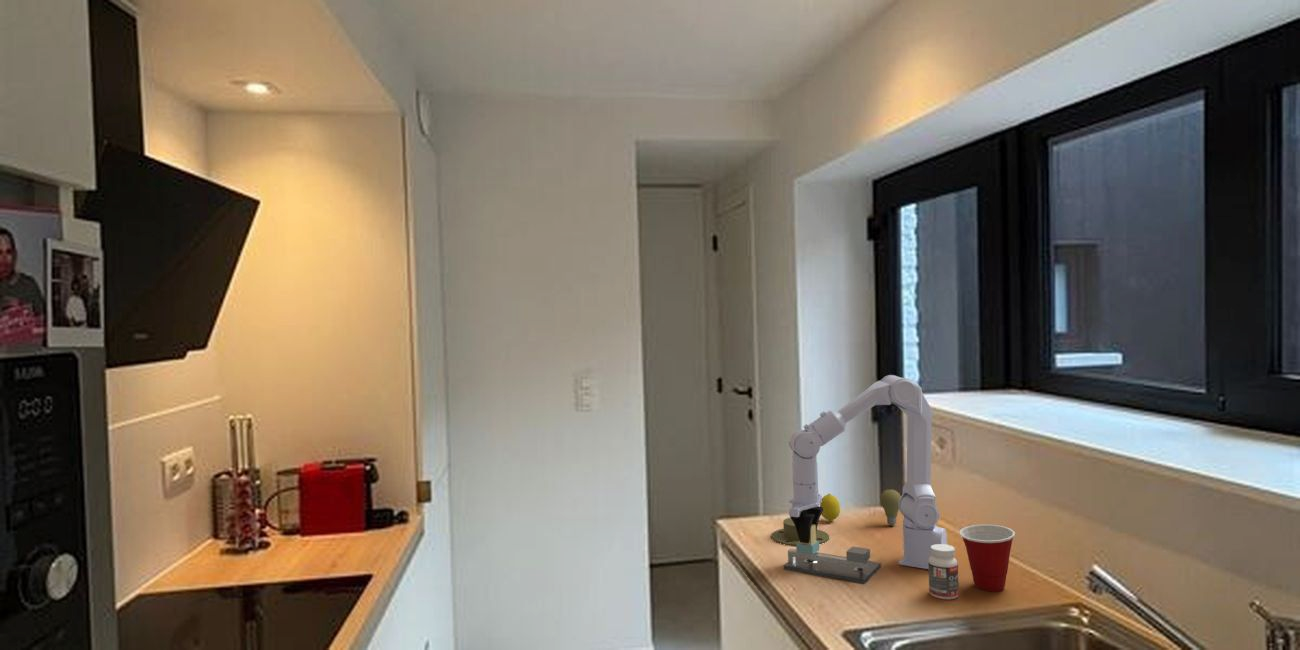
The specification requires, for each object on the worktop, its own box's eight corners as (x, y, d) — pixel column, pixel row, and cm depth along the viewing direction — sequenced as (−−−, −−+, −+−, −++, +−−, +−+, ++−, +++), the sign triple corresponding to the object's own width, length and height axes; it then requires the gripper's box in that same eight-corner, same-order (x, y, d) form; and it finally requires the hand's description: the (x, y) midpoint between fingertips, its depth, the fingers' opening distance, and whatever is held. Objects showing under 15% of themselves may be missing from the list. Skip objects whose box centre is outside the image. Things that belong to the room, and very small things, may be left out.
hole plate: (881, 567, 168) (880, 562, 168) (864, 584, 158) (864, 578, 158) (803, 554, 178) (803, 549, 178) (783, 569, 169) (783, 564, 169)
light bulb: (882, 528, 197) (881, 492, 196) (879, 522, 202) (878, 487, 202) (904, 528, 196) (903, 492, 195) (900, 522, 201) (899, 487, 201)
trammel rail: (872, 571, 163) (872, 549, 163) (867, 576, 159) (866, 554, 159) (793, 557, 173) (792, 537, 173) (786, 562, 170) (786, 541, 170)
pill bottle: (956, 602, 146) (954, 553, 146) (926, 597, 149) (925, 549, 149) (961, 592, 151) (959, 545, 151) (932, 587, 154) (930, 541, 154)
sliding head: (819, 560, 170) (818, 524, 170) (813, 566, 166) (811, 528, 166) (803, 558, 172) (802, 522, 172) (796, 563, 169) (795, 526, 169)
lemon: (841, 524, 201) (840, 496, 201) (820, 524, 202) (819, 496, 202) (839, 519, 207) (838, 491, 207) (820, 519, 208) (819, 491, 208)
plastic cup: (951, 579, 159) (949, 524, 159) (998, 575, 160) (997, 521, 159) (977, 598, 148) (975, 539, 148) (1027, 594, 149) (1026, 536, 149)
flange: (760, 523, 191) (811, 533, 181) (788, 510, 202) (838, 519, 192) (760, 541, 191) (812, 552, 181) (789, 527, 202) (839, 536, 193)
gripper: (801, 474, 177) (803, 529, 177) (776, 487, 165) (778, 546, 165) (829, 477, 173) (831, 533, 173) (805, 490, 161) (807, 551, 161)
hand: (807, 540), depth 169 cm, fingers closed on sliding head, 3 cm apart
